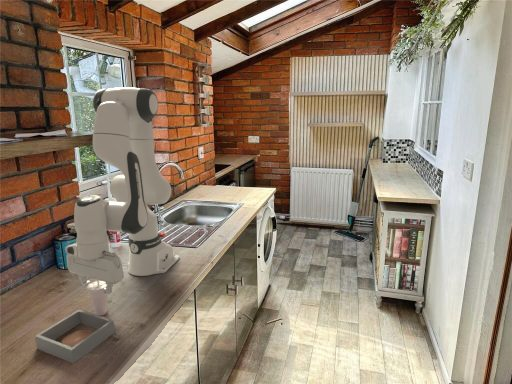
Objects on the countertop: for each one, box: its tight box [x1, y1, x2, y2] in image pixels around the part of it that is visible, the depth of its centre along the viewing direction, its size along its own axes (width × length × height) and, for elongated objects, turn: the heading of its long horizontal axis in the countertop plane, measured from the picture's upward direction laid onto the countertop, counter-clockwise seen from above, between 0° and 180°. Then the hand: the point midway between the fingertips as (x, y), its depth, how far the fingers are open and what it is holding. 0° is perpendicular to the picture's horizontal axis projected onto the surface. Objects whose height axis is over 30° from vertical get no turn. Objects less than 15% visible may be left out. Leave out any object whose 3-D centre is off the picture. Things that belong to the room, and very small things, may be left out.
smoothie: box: [86, 280, 109, 316], centre depth 110 cm, size 6×6×14 cm
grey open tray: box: [34, 309, 116, 364], centre depth 98 cm, size 14×14×4 cm
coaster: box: [60, 329, 93, 347], centre depth 99 cm, size 8×8×1 cm
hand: (96, 290), depth 110 cm, fingers open, 8 cm apart
